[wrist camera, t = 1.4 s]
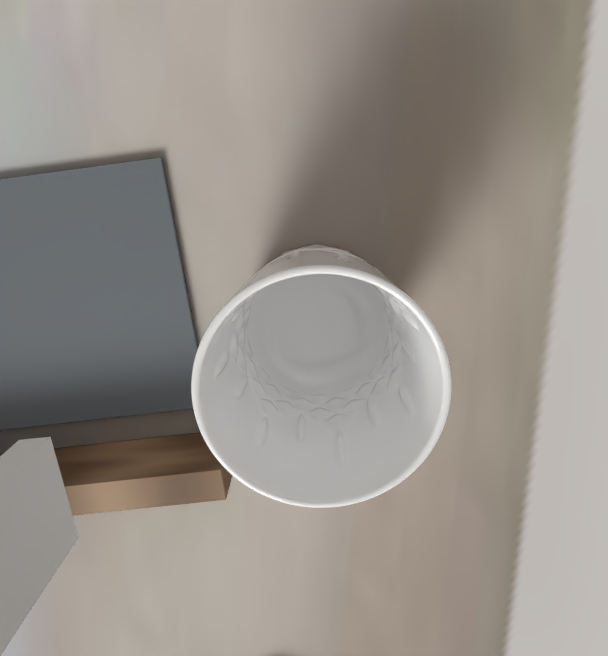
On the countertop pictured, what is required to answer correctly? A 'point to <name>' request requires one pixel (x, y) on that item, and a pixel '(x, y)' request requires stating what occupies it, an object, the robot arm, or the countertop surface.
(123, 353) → the mat
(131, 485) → the corner walls
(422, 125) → the countertop surface
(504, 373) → the countertop surface
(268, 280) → the white cup
